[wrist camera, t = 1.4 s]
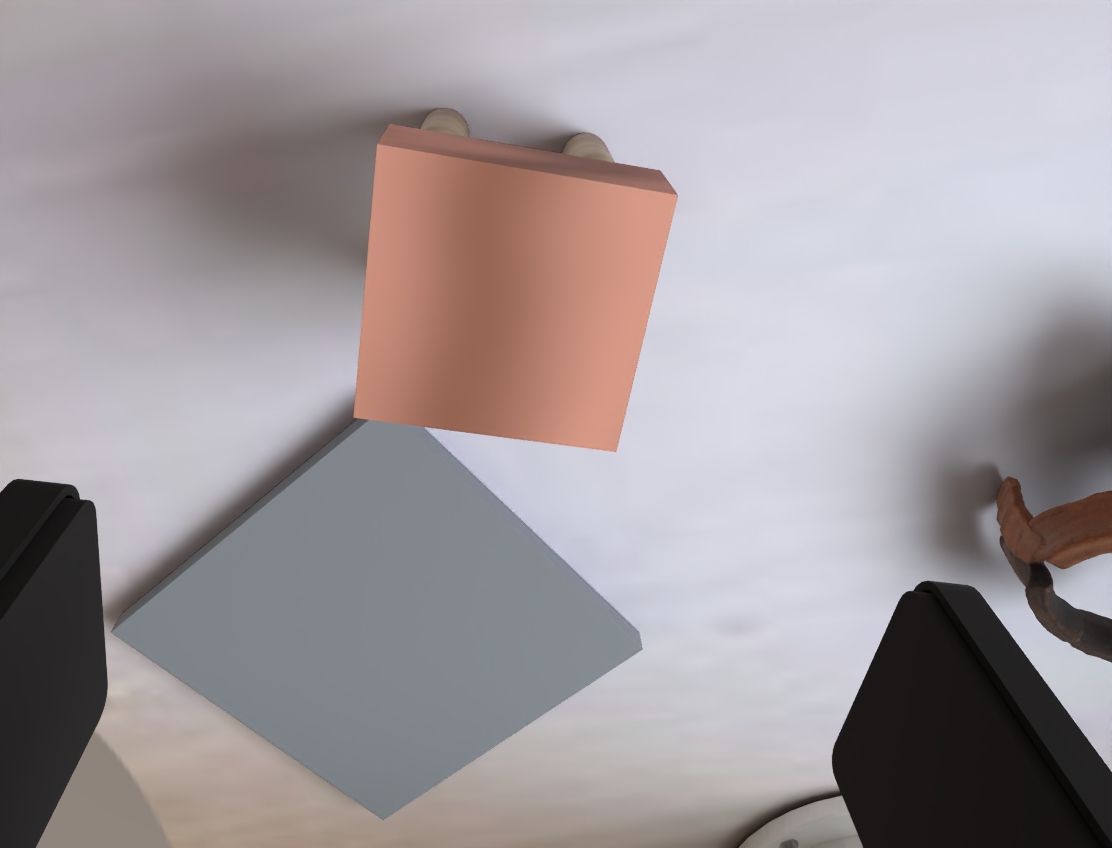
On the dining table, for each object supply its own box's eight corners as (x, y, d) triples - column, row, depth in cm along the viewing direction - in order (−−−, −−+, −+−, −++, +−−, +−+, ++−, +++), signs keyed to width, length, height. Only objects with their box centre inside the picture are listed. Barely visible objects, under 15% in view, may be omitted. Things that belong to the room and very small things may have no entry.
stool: (628, 126, 27) (678, 195, 19) (587, 325, 30) (616, 451, 22) (411, 87, 26) (377, 144, 19) (390, 296, 29) (353, 417, 22)
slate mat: (639, 631, 36) (642, 649, 35) (385, 800, 40) (383, 819, 39) (387, 393, 30) (384, 406, 30) (120, 614, 34) (110, 632, 33)
